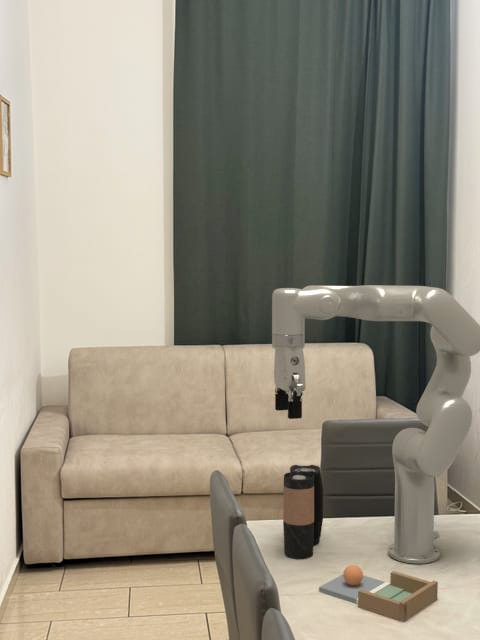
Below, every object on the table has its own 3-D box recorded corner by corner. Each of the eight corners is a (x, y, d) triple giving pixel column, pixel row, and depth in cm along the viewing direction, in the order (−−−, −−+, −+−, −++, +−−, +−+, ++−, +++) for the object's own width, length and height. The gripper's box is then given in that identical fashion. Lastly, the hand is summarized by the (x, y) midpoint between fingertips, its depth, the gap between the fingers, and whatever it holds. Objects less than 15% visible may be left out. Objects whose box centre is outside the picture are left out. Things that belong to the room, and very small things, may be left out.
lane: (352, 573, 199) (352, 557, 199) (437, 599, 185) (437, 581, 184) (315, 593, 188) (316, 575, 188) (403, 622, 174) (403, 603, 174)
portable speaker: (280, 539, 222) (280, 466, 220) (310, 533, 226) (311, 461, 224) (298, 550, 214) (299, 474, 212) (329, 543, 219) (329, 469, 217)
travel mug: (305, 562, 206) (305, 481, 204) (277, 555, 210) (277, 476, 208) (319, 552, 213) (319, 474, 211) (292, 546, 217) (292, 469, 215)
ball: (350, 579, 193) (350, 560, 193) (366, 584, 191) (367, 565, 190) (339, 585, 190) (339, 566, 190) (355, 590, 187) (356, 570, 187)
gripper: (316, 345, 190) (315, 420, 192) (292, 336, 207) (291, 406, 208) (284, 346, 188) (284, 422, 190) (262, 337, 205) (262, 407, 206)
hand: (288, 414), depth 199 cm, fingers open, 9 cm apart
